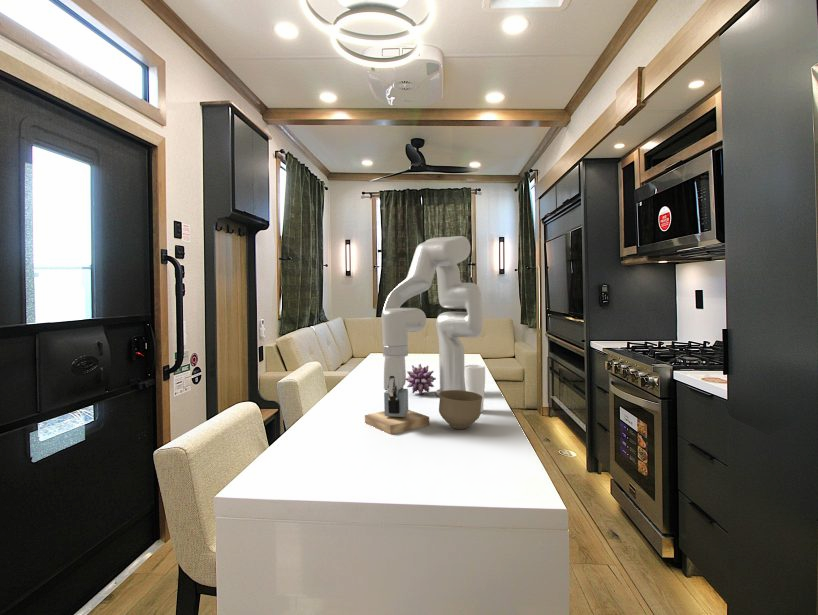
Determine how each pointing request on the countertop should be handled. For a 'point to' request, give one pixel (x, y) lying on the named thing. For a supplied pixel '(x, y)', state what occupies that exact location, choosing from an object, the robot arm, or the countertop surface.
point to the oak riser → (396, 421)
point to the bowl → (459, 407)
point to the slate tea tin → (402, 403)
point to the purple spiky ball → (420, 379)
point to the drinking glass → (475, 380)
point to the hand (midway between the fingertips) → (396, 409)
